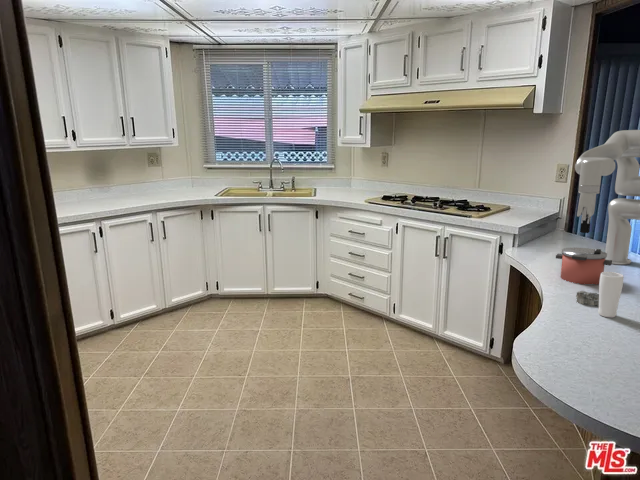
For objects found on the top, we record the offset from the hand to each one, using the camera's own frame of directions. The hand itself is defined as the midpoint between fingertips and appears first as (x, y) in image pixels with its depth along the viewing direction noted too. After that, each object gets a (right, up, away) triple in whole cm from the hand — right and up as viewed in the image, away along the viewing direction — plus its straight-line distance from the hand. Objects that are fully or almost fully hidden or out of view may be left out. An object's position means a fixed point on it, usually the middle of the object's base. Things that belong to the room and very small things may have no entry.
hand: (584, 232), depth 184 cm
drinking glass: (-11, -30, -31) cm, 45 cm away
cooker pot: (+3, -20, +8) cm, 22 cm away
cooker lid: (+2, -10, +4) cm, 11 cm away
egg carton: (-9, -27, -19) cm, 35 cm away
